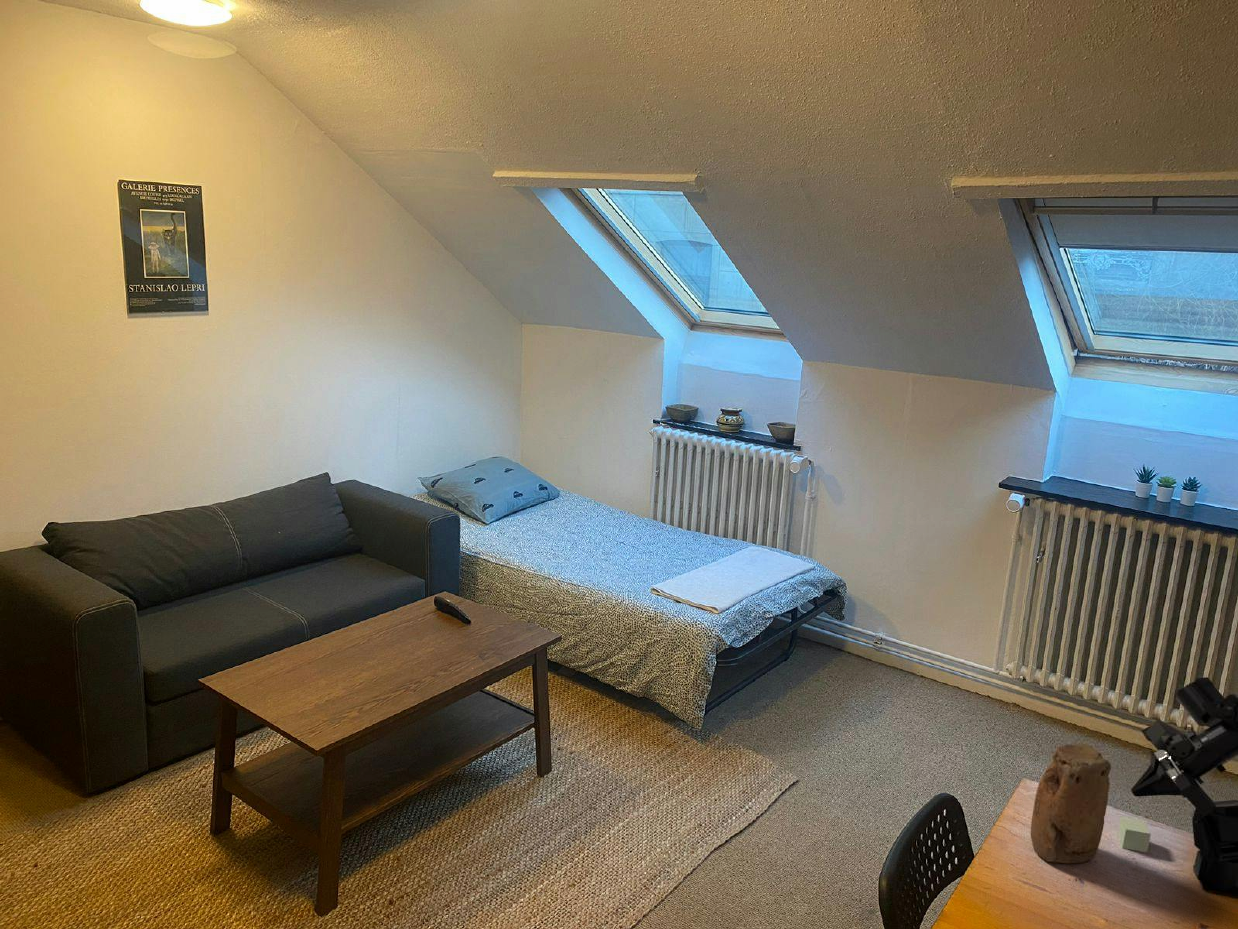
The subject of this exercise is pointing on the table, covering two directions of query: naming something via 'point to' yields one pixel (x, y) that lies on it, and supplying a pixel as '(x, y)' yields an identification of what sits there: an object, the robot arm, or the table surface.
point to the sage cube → (1134, 834)
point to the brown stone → (1071, 805)
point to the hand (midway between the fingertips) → (1132, 793)
